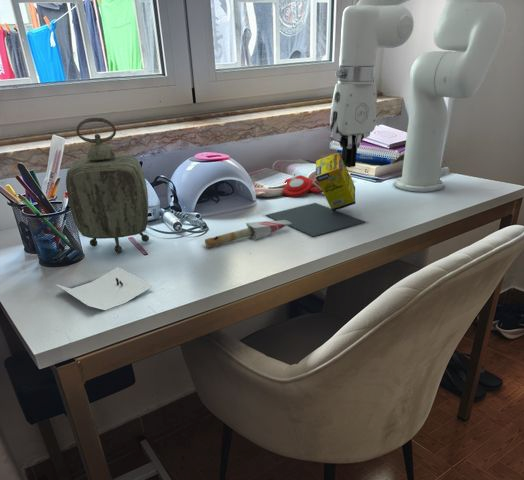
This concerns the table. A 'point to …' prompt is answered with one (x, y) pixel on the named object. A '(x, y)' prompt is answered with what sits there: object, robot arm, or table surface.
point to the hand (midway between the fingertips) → (348, 165)
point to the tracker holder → (300, 186)
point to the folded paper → (109, 289)
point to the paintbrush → (248, 232)
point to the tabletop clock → (107, 192)
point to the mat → (315, 219)
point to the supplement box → (335, 181)
